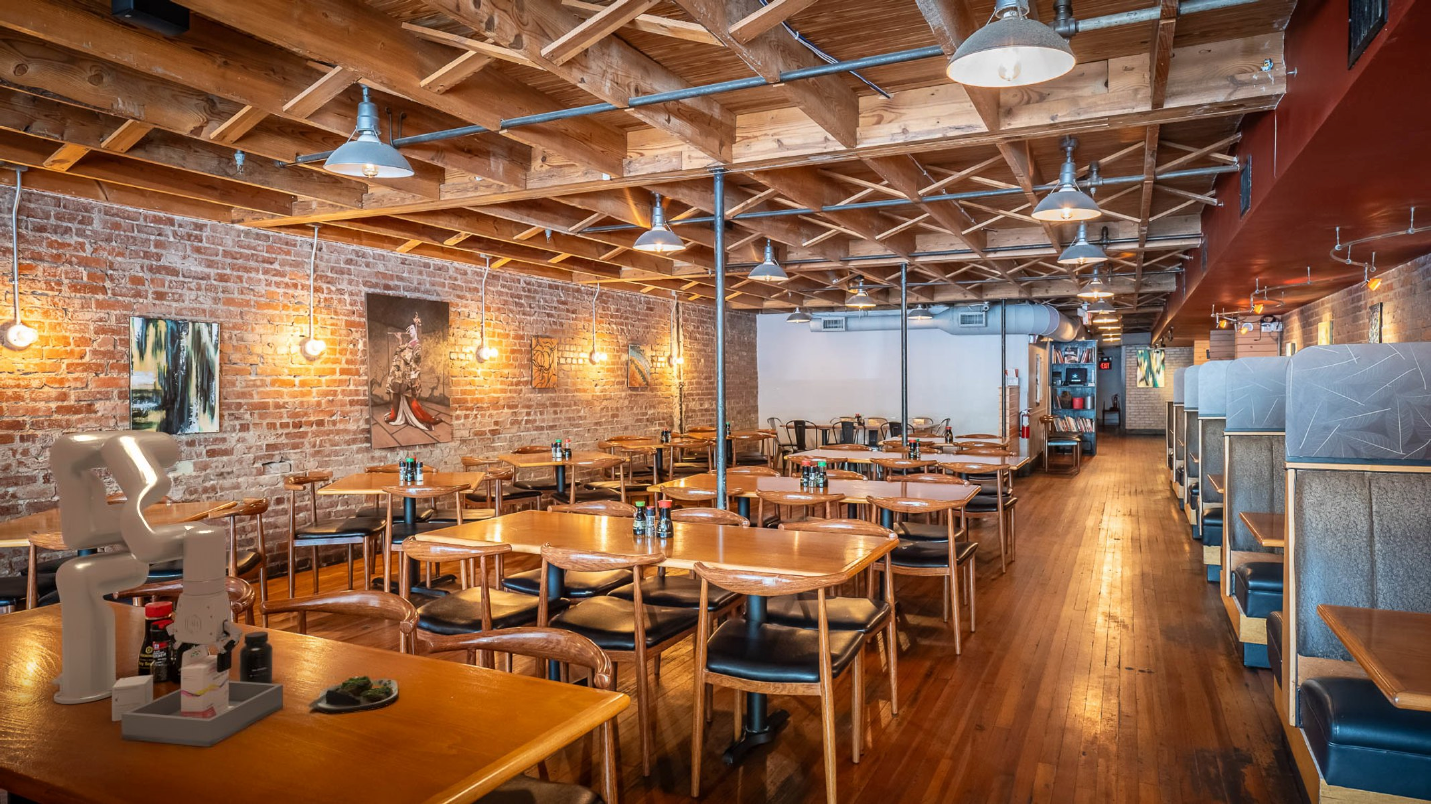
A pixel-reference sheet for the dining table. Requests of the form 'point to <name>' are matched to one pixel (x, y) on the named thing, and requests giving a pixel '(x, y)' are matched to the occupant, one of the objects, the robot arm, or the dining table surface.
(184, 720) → the walled box
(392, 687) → the salad plate
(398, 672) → the dining table surface
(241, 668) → the supplement bottle
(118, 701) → the product box
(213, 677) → the ink cartridge box
